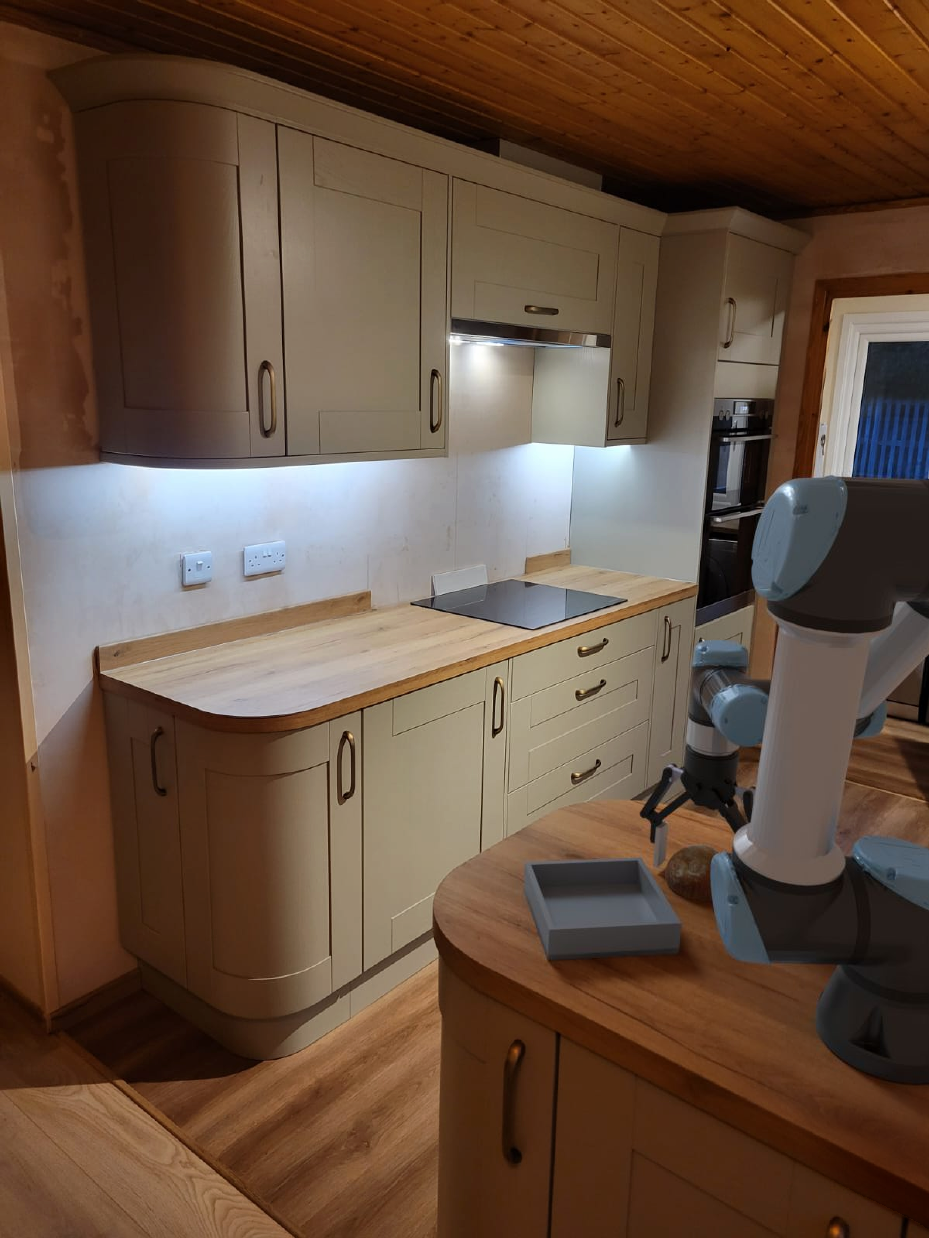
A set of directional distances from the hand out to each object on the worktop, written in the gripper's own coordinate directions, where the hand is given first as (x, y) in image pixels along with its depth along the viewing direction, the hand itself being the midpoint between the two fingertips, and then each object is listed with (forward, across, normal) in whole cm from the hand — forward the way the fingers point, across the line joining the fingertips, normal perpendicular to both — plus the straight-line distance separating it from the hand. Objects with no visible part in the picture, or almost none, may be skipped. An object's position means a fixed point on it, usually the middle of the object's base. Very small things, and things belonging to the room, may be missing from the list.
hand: (700, 878), depth 141 cm
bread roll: (+1, 0, 0) cm, 1 cm away
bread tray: (+1, +7, +19) cm, 20 cm away
